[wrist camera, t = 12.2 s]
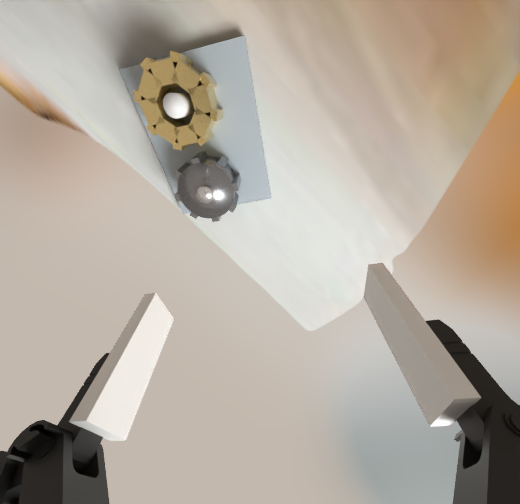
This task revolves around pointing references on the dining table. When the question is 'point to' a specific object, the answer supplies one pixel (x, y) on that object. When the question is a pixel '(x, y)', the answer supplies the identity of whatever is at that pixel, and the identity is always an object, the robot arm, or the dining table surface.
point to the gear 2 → (207, 186)
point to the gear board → (225, 130)
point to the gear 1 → (166, 81)
